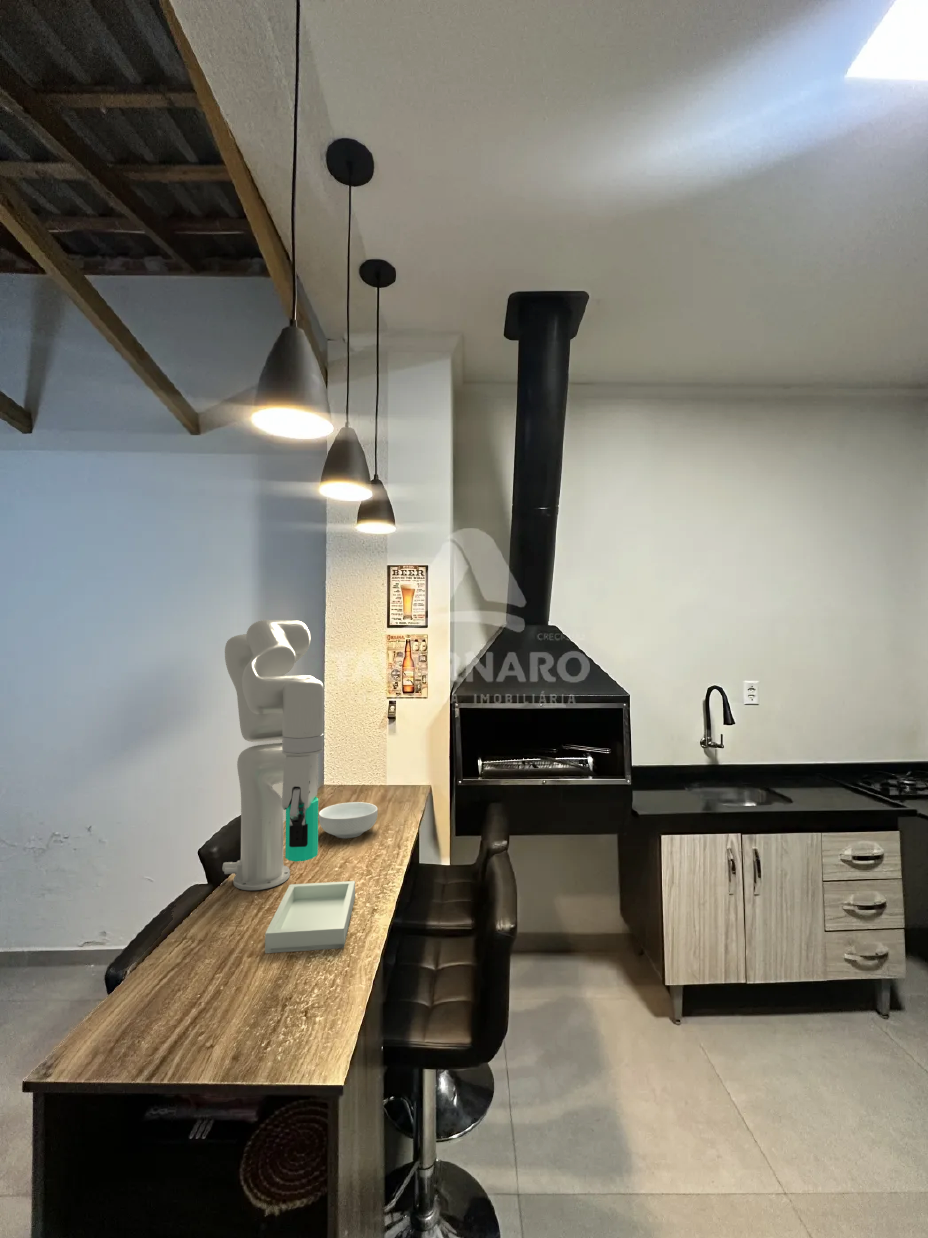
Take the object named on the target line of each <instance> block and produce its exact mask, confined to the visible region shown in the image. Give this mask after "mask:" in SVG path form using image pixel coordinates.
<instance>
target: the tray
mask: <svg viewBox="0 0 928 1238" xmlns="http://www.w3.org/2000/svg"><path fill="white" fill-rule="evenodd" d="M355 900H356V880H347V881H331V882H312V883H311V882H309V883H293V884H289V885H288V888H287V890H286V891H285V893H284V895H283V897H282V899H281V901H280V903H279V905H278V907H277V909H276V911H275V913H274V915H273V917H272V919H271V921H270V923H269V925H268V927H267V929H266V931H265V933H264V934H265V936H264V953H265V954H271V953H272V954H274V953H291V952H304V951H306V952H307V951H319V950H321V951H322V950H333V949H334V950H335V949H344V948H345V944H346V939H347V937H348V931H349V926H350V922H351V917H352V913H353V908H354V904H355Z"/></svg>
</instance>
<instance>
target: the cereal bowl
mask: <svg viewBox="0 0 928 1238" xmlns="http://www.w3.org/2000/svg"><path fill="white" fill-rule="evenodd" d="M378 811H379V810H378V807H377V806H376V805H375V804H373V803H369V802H363V801H360V802H359V801H351V802H341V803H336V804H332V805H328V806H326V807H324V808H322V809H321V810H320V811H318V823H319V825H320V827H321V829H322V830H323V831H324V832H326V833H327V834H329V835H331V836H332V835H333V836H335V837H336V838H338V839H353V838H356V837H360V836H361V835H362V834H363V833H365V832H367V831H368V830H370V829H371V828H372V827H373V826H374V825H375V824H376V822H377V820H378V819H377V818H378V815H379V814H378Z"/></svg>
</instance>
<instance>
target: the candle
mask: <svg viewBox="0 0 928 1238" xmlns="http://www.w3.org/2000/svg"><path fill="white" fill-rule="evenodd" d="M303 806H304V804H299V808H304V807H303ZM290 809H291V804H290V806H289V807H288V808H287V809H286V810H285V849H284V852H285V855H284V858H285V859H286V860H288V861H291V862H295V863H297V862H306V861H309V860H313V859H315V857H317V856H318V854H319V798H318V797H317V796H316V797H315V799H314V801H313V802H311V805H310V807H308V808H307V810H306V824H308V844H307V846H306V847H290V846H289V828H290ZM299 814H301V815H302V814H303V811H299Z"/></svg>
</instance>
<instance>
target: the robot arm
mask: <svg viewBox="0 0 928 1238" xmlns="http://www.w3.org/2000/svg"><path fill="white" fill-rule="evenodd" d="M310 644H311V632H310V630H309V629H308V626H307V625H306V624H305V623H304V622H303V621H300V620H298V619H297V620H295V619H294V620H292V619H290V620H289V619H287V620H286V619H263V620H258V621H256V622H254V623H252V624H251V625H250V626H249V627H248V629H247V631H246V633H245V634H239V635H234V636H232V637H230V638H229V639H227V641H226V643H225V647H224V660H225V665H226V668H227V672H228V675H229V677H230V679H231V681H232V683H233V686H234V688H235V693H236V696H237V697H236V698H237V699H236V700H237V708H238V710H237V711H238V718H239V720H238V721H239V728H240V733H241V736H242V738H243V739H244V740H245V741H246V742H250V743H252V742H253V743H256V742H258V743H259V742H260V743H261V742H271V741H280V740H281V741H282V742H277V743H274V742H273V743H266V744H258V745H253V746H250V747H247V748H245V749H244V750H242V751H241V752H240V753H239V755H238V757H237V761H236V762H237V763H236V765H237V766H236V767H237V774H238V775H237V776H238V781H239V789H240V859H239V860H237V861H236V862H233V861H228V862H227V861H225V862H223V864H222V872H224V875H230V874H231V875H232V874H234V875H235V876H234V877H233V883H232V884H233V886H234V887H235V888H236V889H240V890H242V891H243V890H244V891H262V890H266V889H270V888H274V887H276V886H279V885H281V884H283V883H284V882H286V881H287V880H288V879H290V876H291V870H290V867H289V866H287V865H284V811H286V809H287V808H288V807H289V806H290V804H291V809H290V828H289V846H290V847H306V846H307V844H308V824H306V810H307V808H308V807H310V805H311V802H313V801H314V799H315V797H317V795H318V789H319V788H318V787H319V754H321V753H323V752H324V714H325V713H324V711H325V710H324V707H325V705H324V703H325V701H324V699H325V698H324V697H325V693H324V692H325V690H324V689H325V688H324V684H323V682H322V681H321V680H319V679H317V678H315V677H314V676H312V675H308V674H307V675H306V674H302V675H301V674H298V675H297V674H296V675H287V674H288V673H289V672H290V671H291V670H292V669H293V668H294V666H295V664H296V663H297V662H298V661H299V660H300V659H301V658H302V657H303V656H304V655H305V654H306V653H307V652H308V650H309V648H310V646H311V645H310ZM278 784H279V785H280V784H282V791H281V792H282V793H281V794H279V793H278V792H277V791H276V790H275V789H274V787H273V786H274V785H278ZM281 795H282V796H281ZM299 804H304V806H303V807H304V808H299ZM299 811H303V814H302V815H301V814H299Z"/></svg>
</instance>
